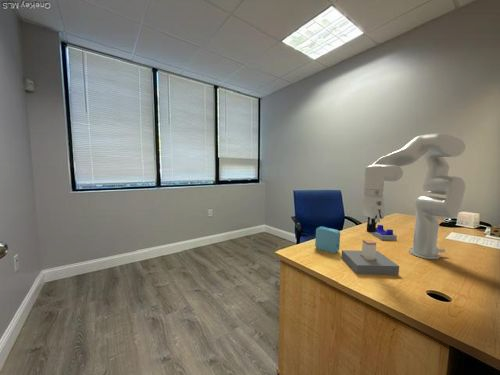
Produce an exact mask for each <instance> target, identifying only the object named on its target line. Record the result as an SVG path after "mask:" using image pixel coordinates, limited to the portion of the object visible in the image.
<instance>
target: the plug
mask: <svg viewBox="0 0 500 375" xmlns="http://www.w3.org/2000/svg"><path fill="white" fill-rule="evenodd" d="M361 251H362V258H364V259H365V260H375V252H376V251H377V242H376V241H374V240H372V239H362V245H361Z"/></svg>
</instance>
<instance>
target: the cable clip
mask: <svg viewBox="0 0 500 375" xmlns="http://www.w3.org/2000/svg"><path fill="white" fill-rule="evenodd" d="M376 227H377V229H376V232H377V233H379V234H381V235H393V234H394V229H390V228H389V229H386V231H387V232H386V233H385V232H384V230H385V228H384V225H383V224H377V225H376Z"/></svg>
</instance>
